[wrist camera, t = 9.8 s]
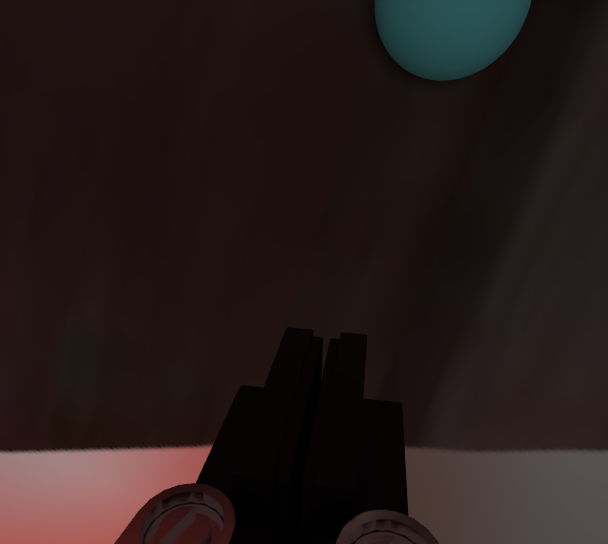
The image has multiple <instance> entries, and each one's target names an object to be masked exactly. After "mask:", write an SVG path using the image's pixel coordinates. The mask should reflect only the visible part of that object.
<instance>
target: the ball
mask: <svg viewBox="0 0 608 544" xmlns="http://www.w3.org/2000/svg"><path fill="white" fill-rule="evenodd" d="M530 4H531V0H375V19H376V24H377V29H378V33H379V35H380V38H381V40H382V42H383V44H384V46H385V48H386V50H387V51H388V53H389V54H390V56H391V57H392V58H393V59H394V60H395V61H396V62H397V63H398V64H399V65H400V66H401V67H402V68H404V69H405V70H407V71H408V72H410V73H412V74H414V75H416V76H419V77H421V78H425V79H430V80H438V81H447V80H455V79H460V78H463V77H466V76H469V75H472V74H474V73H476V72H478V71H480V70H482V69H484V68H485V67H487V66H488V65H490V64H491V63H492V62H494V61H495V60H496V59H497V58H498V57H499V56H500V55H502V54H503V53H504V52H505V51H506V49H507V48H508V47H509V46H510V45H511V43H512V42H513V41H514V39H515V38H516V36H517V34H518V33H519V31H520V29H521V27H522V25H523V23H524V21H525V19H526V17H527V14H528V11H529V8H530Z"/></svg>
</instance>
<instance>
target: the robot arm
mask: <svg viewBox="0 0 608 544" xmlns="http://www.w3.org/2000/svg"><path fill="white" fill-rule="evenodd" d="M366 345H367V335H364V334H353V333H343V332H341V335H340V339H333V338H330V342H329V347H328V352H327V356H326V361H325V366H324V371H323V376H322V381H321V374H322V347H323V339H322V337H314V334H313V330H310V329H299V328H286V330H285V333H284V336H283V338H282V341H281V343H280V346H279V349H278V351H277V354H276V357H275V359H274V362H273V364H272V367H271V370H270V372H269V375H268V378H267V380H266V383H265V385H264V388H263V387H254V386H245V385H243V386H241V387H240V389H239V390H238V392H237V394H236V396H235V399H234V401H233V403H232V405H231V407H230V409H229V412H228V414H227V416H226V418H225V420H224V423H223V425H222V427H221V429H220V431H219V433H218V436H217V438H216V440H215V442H214V444H213V447H212V449H211V451H210V453H209V455H208V458H207V460H206V462H205V464H204V466H203V468H202V471H201V473H200V475H199V477H198V480H197V481H196V483H192V484H183V485H177V486H175V487H172V488H169V489H166V490H164V491H162V492H161V493H159V494H157V495H156V496H154V497H153V498H151V499H150V500H149V501H148V502H147V503H146V504H145V505H144V506H143V507H142V508H141V509H140V510H139V511H138V513H137V514H136V515H135V517H134V518H133V519H132V521H131V522H130V523H129V525H128V526H127V527H126V529H125V530H124V531H123V533H122V534H121V535H120V537H119V538H118V539H117V541H116V542H115V543H114V544H439V543H438V541H437V540H436V539H435V537H434V536H433V535H432V534H431V533H430V531H429V530H428V529H427V528H426V527H424V526H423V525H422V524H420V523H419V522H418V521H416V520H415V519H414V518H411V517H409V516H408V501H407V483H406V465H405V447H404V429H403V411H402V404H401V403H399V402H390V401H381V400H372V399H363V393H364V377H365V361H366Z"/></svg>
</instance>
